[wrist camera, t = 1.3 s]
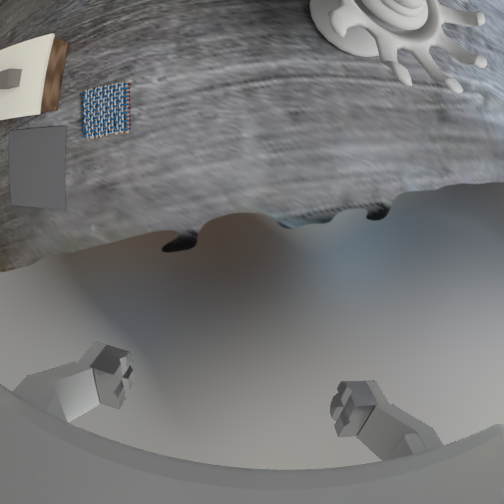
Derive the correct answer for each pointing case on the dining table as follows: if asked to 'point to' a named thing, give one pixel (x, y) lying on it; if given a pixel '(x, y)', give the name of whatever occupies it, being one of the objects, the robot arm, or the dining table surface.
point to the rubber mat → (38, 167)
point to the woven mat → (106, 110)
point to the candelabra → (396, 32)
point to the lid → (23, 76)
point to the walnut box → (54, 75)
